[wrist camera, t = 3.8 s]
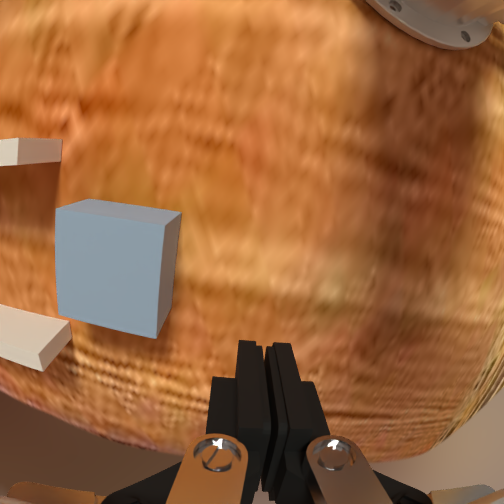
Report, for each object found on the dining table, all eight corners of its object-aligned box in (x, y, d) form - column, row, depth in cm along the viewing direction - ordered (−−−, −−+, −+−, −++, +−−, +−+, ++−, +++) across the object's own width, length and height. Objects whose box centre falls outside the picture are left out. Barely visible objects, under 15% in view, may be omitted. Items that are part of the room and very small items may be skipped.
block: (182, 211, 18) (164, 225, 14) (172, 306, 19) (156, 339, 16) (90, 198, 17) (55, 208, 14) (87, 288, 19) (58, 314, 15)
